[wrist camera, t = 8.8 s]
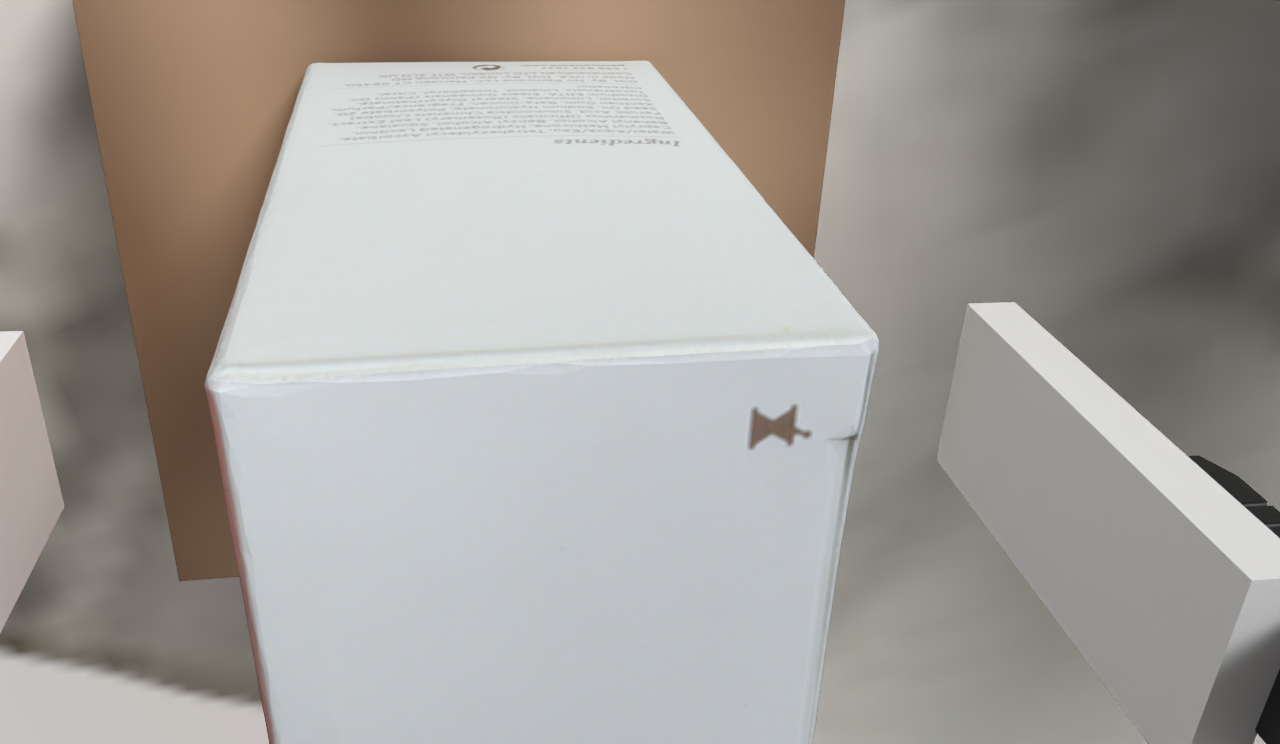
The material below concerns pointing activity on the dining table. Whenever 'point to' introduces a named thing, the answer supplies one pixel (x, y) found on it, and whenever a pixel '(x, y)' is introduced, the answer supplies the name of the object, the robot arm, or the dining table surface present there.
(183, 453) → the walnut block
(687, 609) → the small box
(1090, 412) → the robot arm
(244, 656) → the dining table surface
